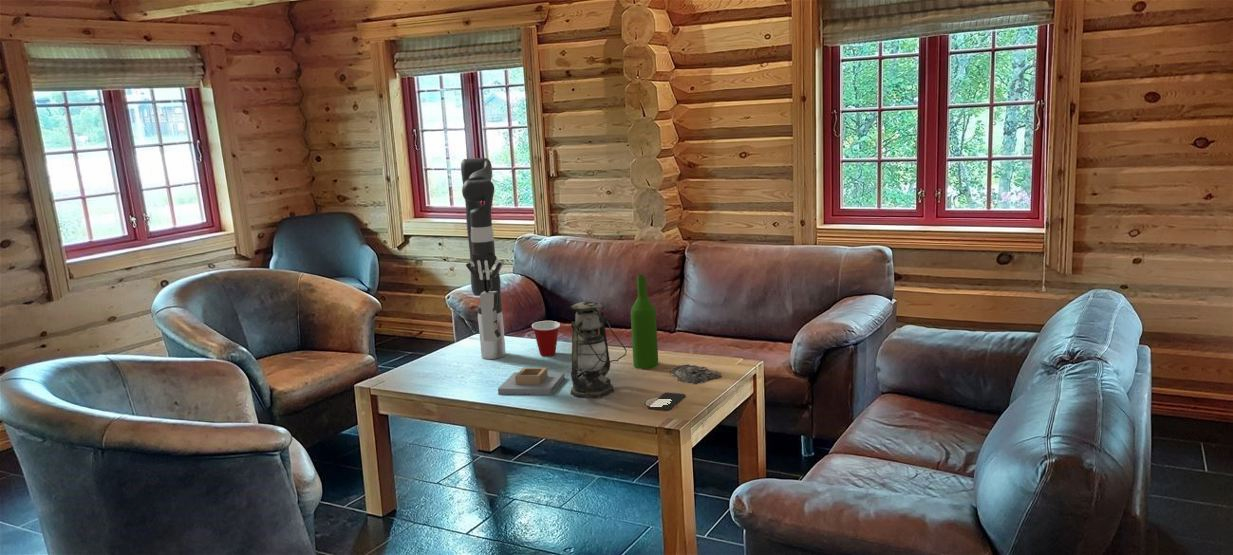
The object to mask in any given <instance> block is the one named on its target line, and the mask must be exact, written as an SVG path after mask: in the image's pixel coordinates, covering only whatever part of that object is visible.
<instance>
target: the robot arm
mask: <svg viewBox="0 0 1233 555" xmlns="http://www.w3.org/2000/svg"><path fill="white" fill-rule="evenodd" d="M460 172H461V174H460V175H461V179H462V180H461V181H462V187H461V188H462V189H461V193H462V197H463V199H464V203H465V217H466V218H465V219H466V231H467V232H466V233H467V239H468V247H469V248H468V249H469V262H467V263H466V264H465V266H466V268H467V269H468V271H469V272H470V287H471V292H472V293H473V295H474V296H477V297H480V294H481V293H482V292H484V291H486V288H485V273H486V279H487V280H486V284H487V291H497V292H498V298H497V307H496V311H497V323H498V330H499V332H500V334H501V339H500V340H498V341H484V335H483V324H482V312H481V303H480V304H478V305H477V308H476V309H477V321H478V329H479V330H478V331H479V332H478V333H479V342H480V353H481V354H480V356H481V358H482V359H485V360H495V359H500V358H504V357H505V356H506V355H507V354H506V353H507V352H506V342H505V340H506V339H505V331H504V330H505V328H504V320H503V318H504V317H503V316H504V315H503V307H502V293H501V290H502V289H501V288H502V287H501V286H502V284H501V275H500V271H501V269H502V267H504V264H505V263H504V261H501V260H498V258H497V256H496V249H495V237H494V229H493V223H492V222H493V221H492V206H493V199H494V196H495V185H494V183H493V181H492V178H493V167H492V163H491V161H490V159H489V158H486V157H476V158H464V159H462V161H461V162H460ZM481 202H484V204H482V203H481ZM494 266H495V269H493V268H494ZM484 269H485V272H484Z"/></svg>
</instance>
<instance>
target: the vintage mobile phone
mask: <svg viewBox="0 0 1233 555" xmlns="http://www.w3.org/2000/svg"><path fill="white" fill-rule="evenodd" d="M484 272H485V269H484ZM486 280H487V279H486V273H485V288H486V291H484V292H482V293H481V294H480V296H479V299H480V304H481V312H482V324H483V335H484V341H498V340H500V339H501V334H500V332H499V330H498V323H497V311H496V307H497V298H498V292H497V291H487V284H486Z"/></svg>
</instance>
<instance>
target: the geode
mask: <svg viewBox="0 0 1233 555" xmlns="http://www.w3.org/2000/svg"><path fill="white" fill-rule="evenodd" d="M670 371H671V373H670V375H671V374H673V375H671V376H672V377H674V376H675V377H677V378H676V379H677V382H679V381H680V382H682V383H685V382H686V383H685V384H691V383H692V385H698V383H700V384H702V383H701V382H703V383H706V382H708V381H710V380H714V378H715V379H720V378H722V377H723V374H722V372H719V371H714V370H712V369H711V370H710V369H709V368H708V367H706V366H698V365H696V364H695V365H694V364H693V365H690V364H681V365H675V367H673V368H672V369H671V370H670ZM675 377H674V378H675ZM707 380H708V381H707ZM705 381H706V382H705ZM680 382H679V383H680Z"/></svg>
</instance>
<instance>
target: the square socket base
mask: <svg viewBox="0 0 1233 555" xmlns="http://www.w3.org/2000/svg"><path fill="white" fill-rule="evenodd" d="M565 379H566V378H565V371H563V372H561V371H560V372H559V371H557V372H556V371H555V372H554V371H553V372H548V367H523V368H521V370H519V372H518V371H517V372H516V371H515V372H513V373H512V374H511V375H510V376H509V377H508V378H507V379H506V380H505V381H504V382H503V383H502V384H501V385H500V386H499V387H498V388H497V394H498V395H513V394H517V395H518V394H520V395H519V396H522V395H521V394H523V395H524V394H526V395H528V394H529V395H530V396H531V395H532V396H533V395H535V396H536V395H537V396H542V395H543V396H544V395H545V396H551V395H553V393H554V392H555V391H556V389H557V388H558V387H559V386H560V385H561V384H562V382H563V381H564V380H565ZM554 390H555V391H554ZM529 395H528V396H529Z"/></svg>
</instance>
